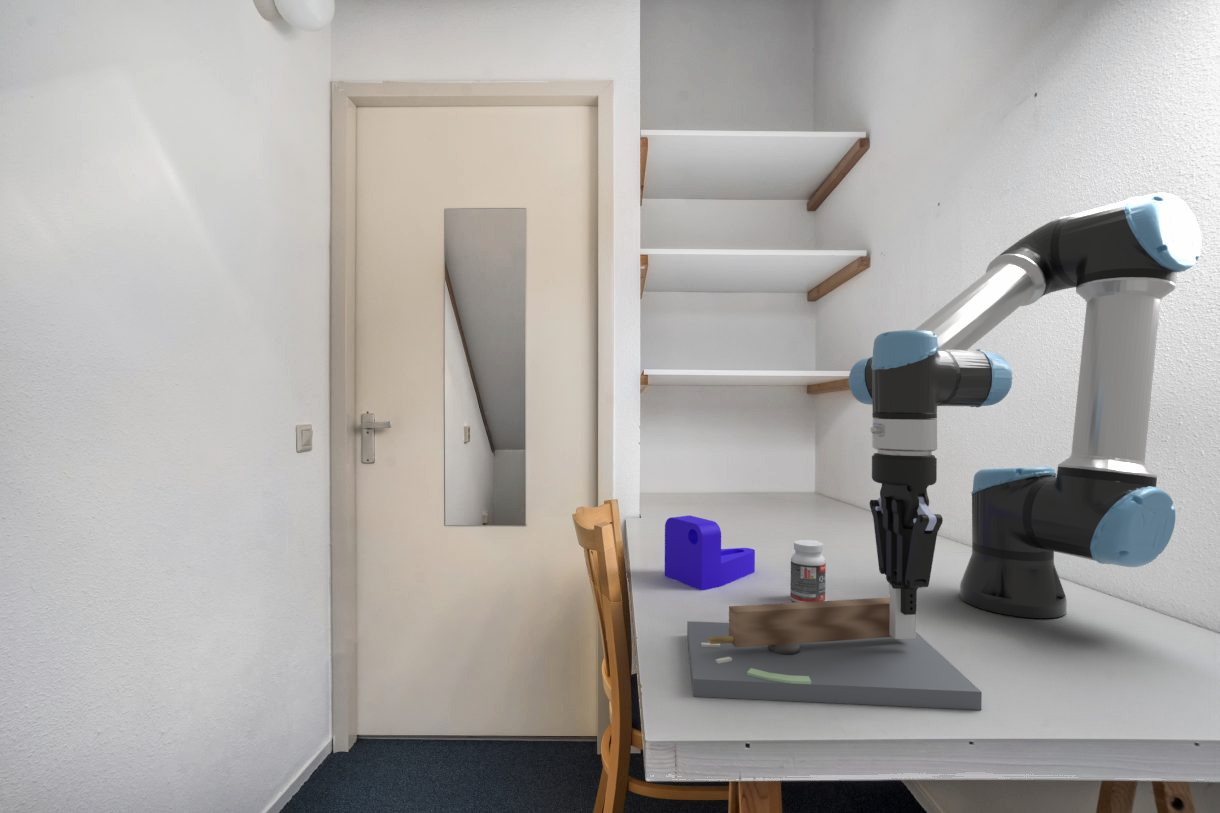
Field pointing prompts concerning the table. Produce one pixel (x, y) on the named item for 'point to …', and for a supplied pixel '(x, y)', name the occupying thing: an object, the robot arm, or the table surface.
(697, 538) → the bracket
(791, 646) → the brown wooden bar
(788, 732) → the table surface
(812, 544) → the pill bottle
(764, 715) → the table surface
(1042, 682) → the table surface
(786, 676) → the plate
